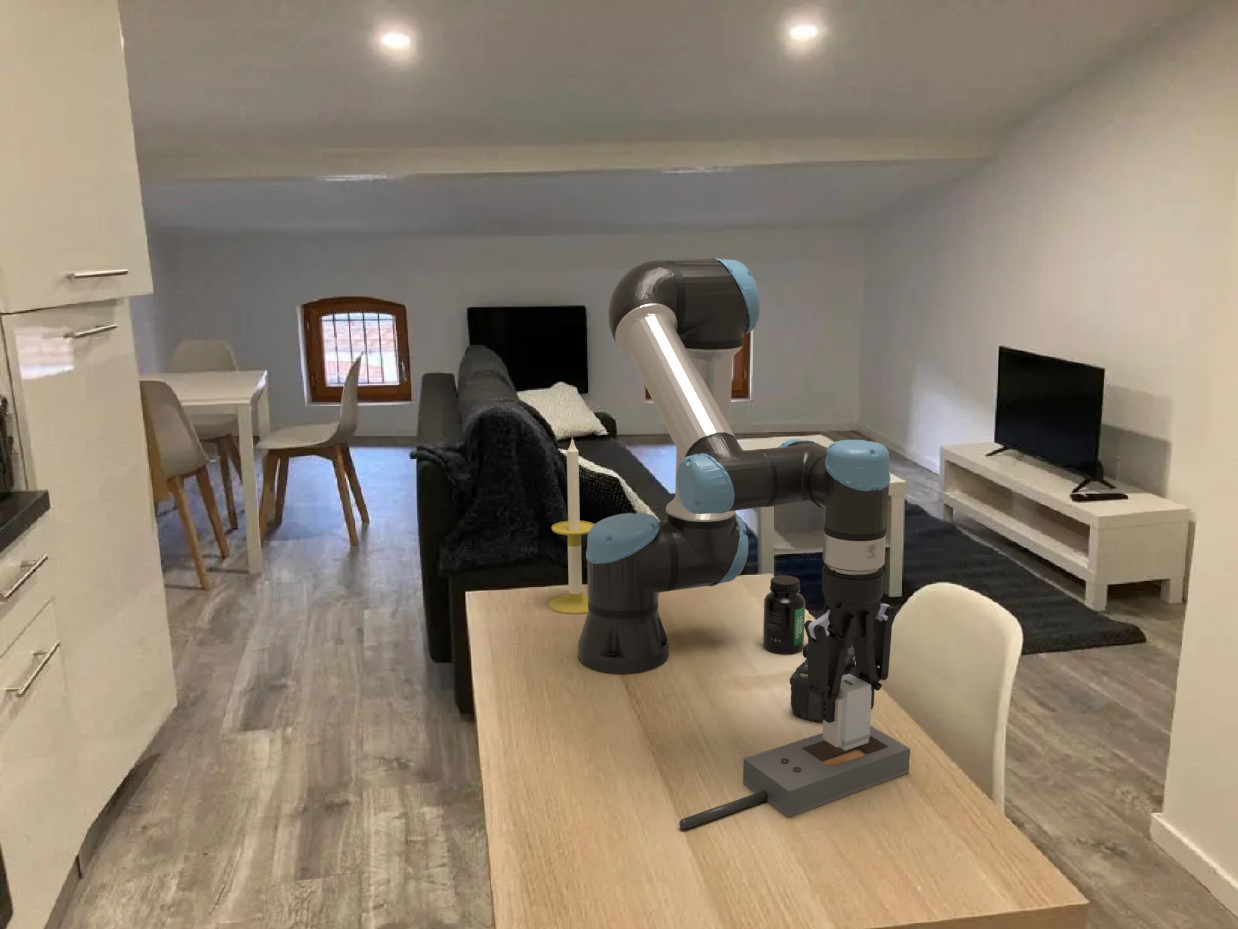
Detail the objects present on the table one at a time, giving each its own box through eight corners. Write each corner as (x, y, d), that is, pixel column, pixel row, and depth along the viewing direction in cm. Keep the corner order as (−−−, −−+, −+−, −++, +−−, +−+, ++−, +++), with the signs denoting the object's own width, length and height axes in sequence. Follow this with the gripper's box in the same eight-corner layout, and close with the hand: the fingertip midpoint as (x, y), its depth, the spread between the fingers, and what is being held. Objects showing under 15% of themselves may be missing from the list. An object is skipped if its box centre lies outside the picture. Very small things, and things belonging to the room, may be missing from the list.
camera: (858, 727, 143) (861, 662, 141) (787, 720, 146) (789, 656, 143) (858, 687, 156) (861, 626, 154) (793, 681, 158) (795, 621, 156)
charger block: (823, 737, 131) (825, 680, 129) (847, 729, 133) (849, 672, 131) (845, 751, 128) (847, 692, 126) (869, 742, 130) (871, 684, 128)
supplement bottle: (809, 653, 168) (811, 585, 166) (769, 656, 167) (771, 588, 165) (796, 637, 175) (798, 572, 172) (758, 640, 174) (759, 574, 171)
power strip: (701, 849, 115) (701, 821, 115) (659, 811, 123) (659, 784, 122) (908, 773, 131) (910, 747, 130) (860, 743, 139) (861, 719, 138)
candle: (612, 603, 192) (611, 436, 184) (575, 618, 185) (571, 445, 177) (576, 591, 198) (573, 429, 191) (538, 605, 191) (533, 437, 184)
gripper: (820, 586, 118) (814, 768, 123) (926, 562, 126) (915, 733, 131) (779, 569, 124) (775, 742, 129) (882, 546, 133) (874, 710, 138)
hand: (846, 737), depth 130 cm, fingers closed on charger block, 4 cm apart
